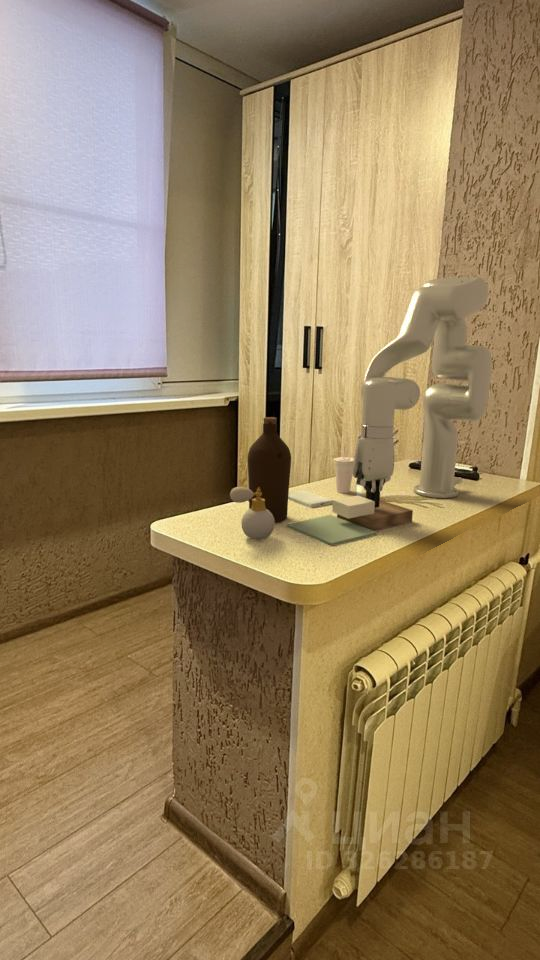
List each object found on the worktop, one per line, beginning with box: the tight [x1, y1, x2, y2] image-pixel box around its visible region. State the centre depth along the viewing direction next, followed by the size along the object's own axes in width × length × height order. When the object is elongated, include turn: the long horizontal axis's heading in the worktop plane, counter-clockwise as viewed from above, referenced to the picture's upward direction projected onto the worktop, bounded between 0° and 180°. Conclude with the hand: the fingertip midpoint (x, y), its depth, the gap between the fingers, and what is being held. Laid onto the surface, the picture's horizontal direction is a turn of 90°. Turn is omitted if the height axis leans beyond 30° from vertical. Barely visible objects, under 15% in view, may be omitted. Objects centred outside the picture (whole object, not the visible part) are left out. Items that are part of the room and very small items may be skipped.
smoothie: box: [333, 444, 354, 494], centre depth 174 cm, size 6×6×14 cm
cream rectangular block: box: [331, 495, 375, 519], centre depth 144 cm, size 8×6×3 cm
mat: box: [285, 514, 378, 547], centre depth 140 cm, size 14×16×1 cm
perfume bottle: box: [229, 486, 276, 541], centre depth 132 cm, size 8×10×12 cm
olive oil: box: [246, 416, 292, 524], centre depth 146 cm, size 11×11×25 cm
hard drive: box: [288, 489, 334, 509], centre depth 166 cm, size 2×8×12 cm
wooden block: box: [336, 499, 414, 532], centre depth 149 cm, size 14×12×3 cm
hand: (372, 506), depth 147 cm, fingers closed
